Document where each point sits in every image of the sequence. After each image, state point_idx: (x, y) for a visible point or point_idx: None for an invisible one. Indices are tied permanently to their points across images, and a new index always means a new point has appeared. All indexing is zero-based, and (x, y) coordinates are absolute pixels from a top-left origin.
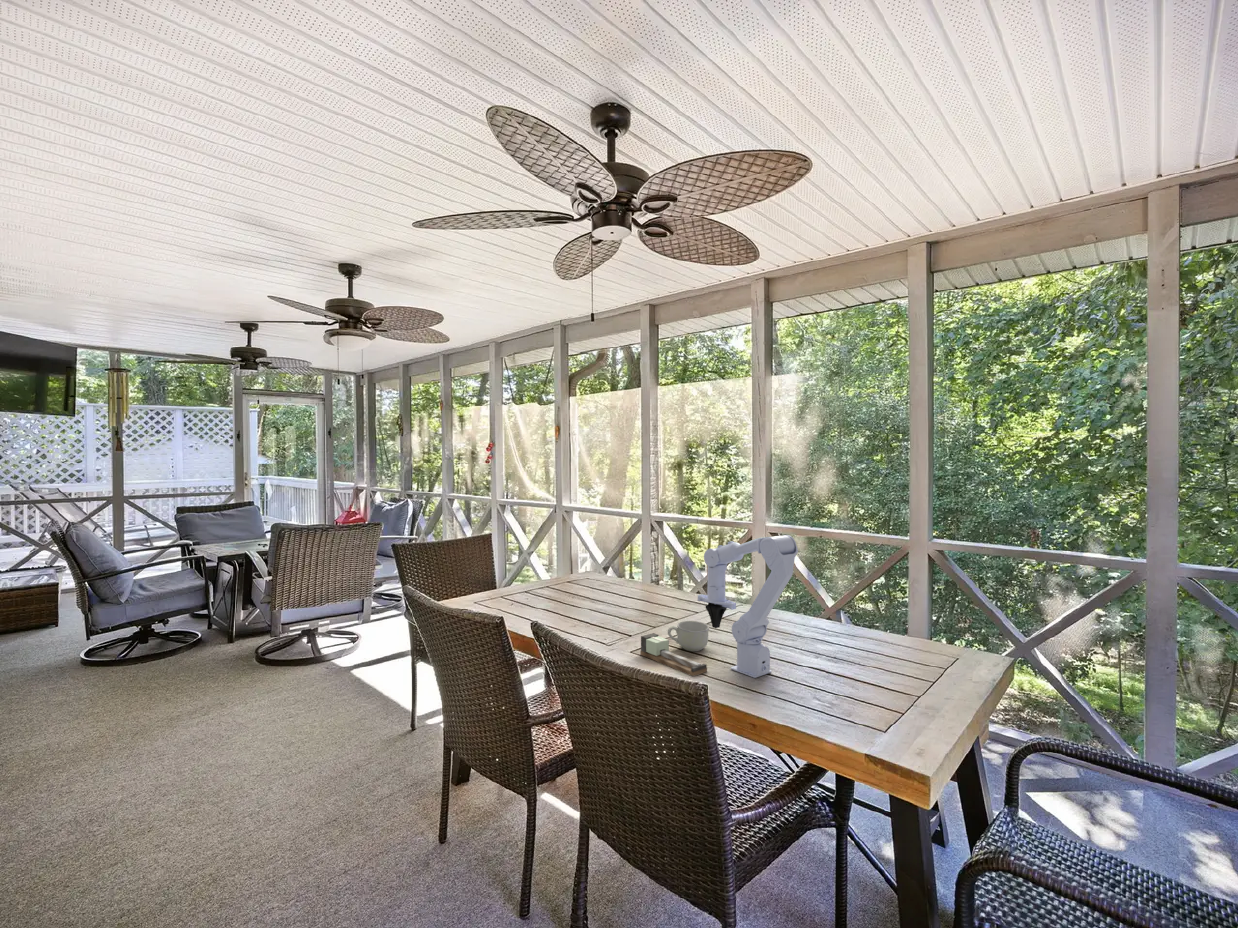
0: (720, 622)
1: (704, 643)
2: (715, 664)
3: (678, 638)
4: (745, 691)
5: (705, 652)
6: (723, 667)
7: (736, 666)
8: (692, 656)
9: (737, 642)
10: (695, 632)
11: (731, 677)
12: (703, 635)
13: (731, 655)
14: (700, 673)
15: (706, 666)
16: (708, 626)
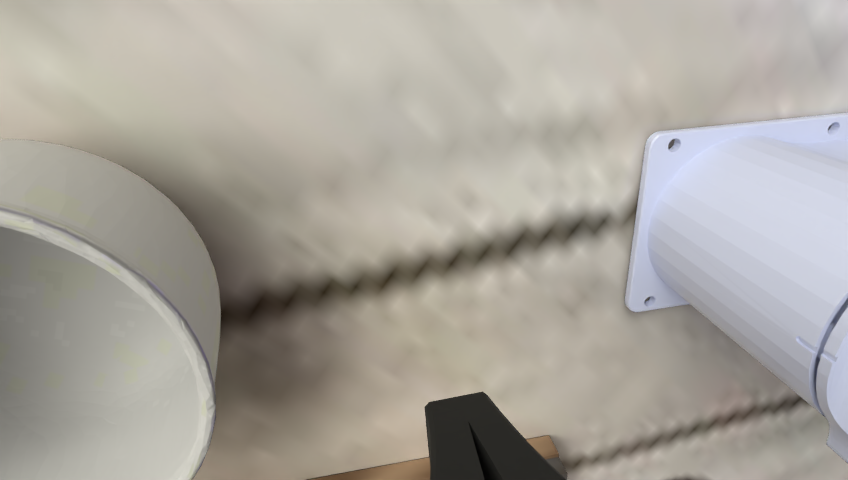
0: (516, 432)
1: (215, 274)
2: (498, 330)
3: (18, 458)
4: None
5: (243, 237)
6: (569, 319)
7: (647, 267)
8: (275, 373)
9: (824, 415)
10: (196, 466)
11: (695, 373)
12: (211, 345)
13: (433, 92)
14: None
15: (562, 464)
16: (64, 241)
